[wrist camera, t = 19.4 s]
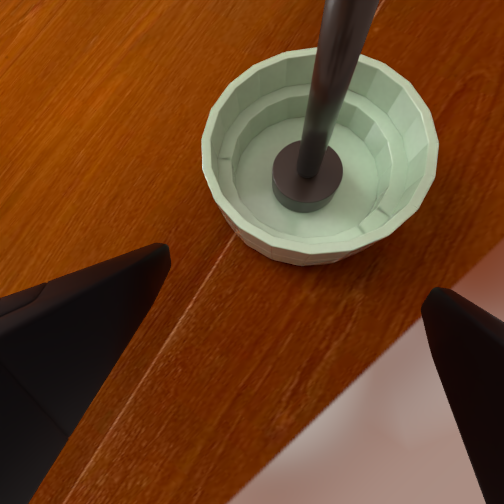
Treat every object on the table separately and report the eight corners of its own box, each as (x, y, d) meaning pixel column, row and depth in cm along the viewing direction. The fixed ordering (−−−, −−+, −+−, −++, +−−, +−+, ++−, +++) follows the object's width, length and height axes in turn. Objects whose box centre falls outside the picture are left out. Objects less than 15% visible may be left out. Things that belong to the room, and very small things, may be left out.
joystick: (283, 221, 18) (320, -38, 4) (263, 166, 19) (241, -181, 5) (345, 201, 18) (587, -130, 4) (322, 147, 19) (452, -256, 5)
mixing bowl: (381, 285, 17) (424, 279, 12) (198, 244, 19) (173, 224, 14) (405, 119, 20) (448, 60, 15) (242, 97, 22) (233, 37, 17)
